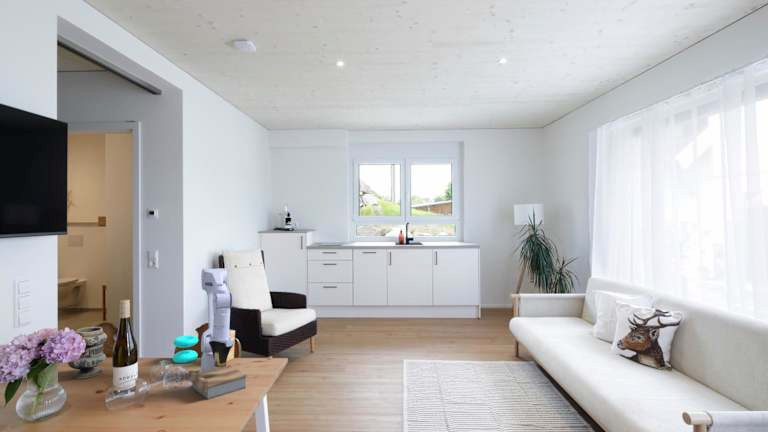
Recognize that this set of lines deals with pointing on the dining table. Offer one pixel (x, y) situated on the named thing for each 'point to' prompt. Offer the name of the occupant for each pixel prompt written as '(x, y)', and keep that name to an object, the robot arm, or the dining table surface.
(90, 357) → the apothecary jar
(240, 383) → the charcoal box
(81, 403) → the dining table surface
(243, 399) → the dining table surface
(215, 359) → the cylinder
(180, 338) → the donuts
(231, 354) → the supplement box
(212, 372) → the box lid
